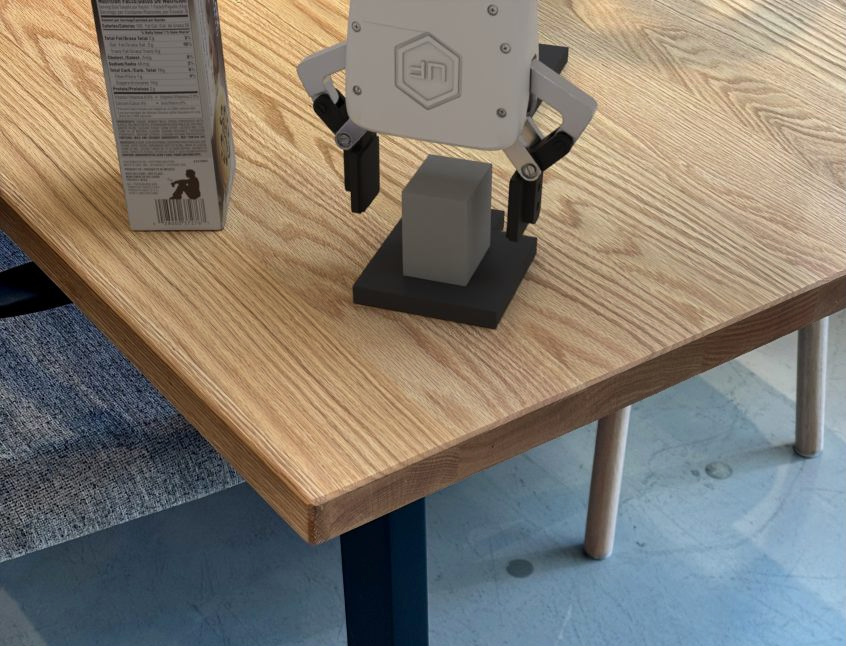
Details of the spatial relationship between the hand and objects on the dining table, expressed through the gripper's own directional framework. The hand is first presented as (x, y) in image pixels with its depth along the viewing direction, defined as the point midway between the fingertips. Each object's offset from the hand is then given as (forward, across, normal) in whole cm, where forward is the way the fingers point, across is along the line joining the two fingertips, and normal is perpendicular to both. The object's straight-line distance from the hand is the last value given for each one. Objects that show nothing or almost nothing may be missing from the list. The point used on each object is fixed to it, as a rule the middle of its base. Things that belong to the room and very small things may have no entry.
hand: (441, 216), depth 79 cm
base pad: (+4, -7, +28) cm, 29 cm away
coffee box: (+5, -20, +4) cm, 21 cm away
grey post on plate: (+4, 0, +1) cm, 4 cm away
